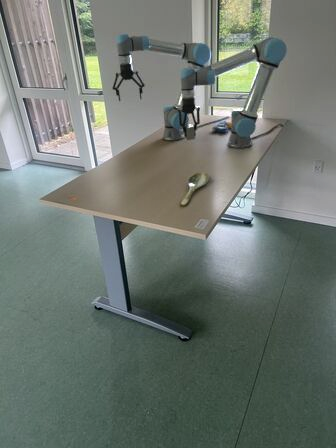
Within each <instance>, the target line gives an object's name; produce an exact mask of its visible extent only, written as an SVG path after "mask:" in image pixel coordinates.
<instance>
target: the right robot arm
mask: <svg viewBox="0 0 336 448" xmlns="http://www.w3.org/2000/svg"><path fill="white" fill-rule="evenodd" d="M287 49H288V48H287V45H286V43H285V41H283V40H282V39H281V38H279V37H267V38H265V39H262V40H261V41H259V42H257V43H255V44H252V45H251V47H249V48H248V49H245V50H243V51H241V52H238V53H236V54H233V55H231V56H229V57H226V58H223V59H221V60H218V61H217V62H213V63H211V64H209V65H207V66H206V65H205V67H202V68H200V69H199V70H198V72H194V69H193V68H188V67H185V68H182V69H180V85H181V88H182V97H183V98H182V108H180V109H178V112H179V124H180V126H183V129H182V132H185V133H184V137H185V138H186V126H185V122H186V117H187V114H189V115H190V114H191V117H192V121H193V125H194V132H195V133H196V131H197V130H198V128H197V126H199V125H201V119H200V111H201V107H200V106H197V105H196V97H195V96H196V93H195V92H196V91H195V90H194V86H196V87H197V86H212V85H215V84H216V78H217V77H220V76H221V75H224V74H227V73H229V72H232V71H234V70H237V69H239V68H241V67H244V66H247V65H249V64H251V63H254V62H255V63H257V64H258V67H257V70H256V73H255V76H254V78H253V81H252V83H251V87H250V89H249V92H248V94H247V97H246V99H245V102H244V104H243V108H236V109H232V110H231V113H230V116H231V119H230V120H231V128H230V135H229V139H228V140H227V146H228V147H229V148H234V149H244V148H249V147H251V145H252V140H254V139H256V138H258V137H261V136H263V135H266V134H268V133H270V132H271V131H272V130H273V129H275V128H277V127H279V126H283V123H282V124H281V123H278V124H276V125H275V126H274V125H273V127H272V128H271V129H269V130H268V131H265V132H264V133H260V134H258V135H255V136H253V137H251V135H253V134H254V133H255V130H256V129H257V128H256V126H257V125H256V123H257V121H258V118H259V115H258V112H259V109H260V107H261V103H262V101H263V99H264V97H265V94H266V91H267V89H268V86H269V83H270V81H271V79H272V76H273V74H274V71H276V70H277V69H278V68H279V66H280V64H281V62H282V61H283V60H284V59H285V57H286V55H287V52H288V51H287ZM181 88H180V89H181ZM182 110H183V111H184V112H185V113H184V119H183V124H182V119H181V112H182ZM194 111H196V116H195V113H194Z"/></svg>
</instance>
